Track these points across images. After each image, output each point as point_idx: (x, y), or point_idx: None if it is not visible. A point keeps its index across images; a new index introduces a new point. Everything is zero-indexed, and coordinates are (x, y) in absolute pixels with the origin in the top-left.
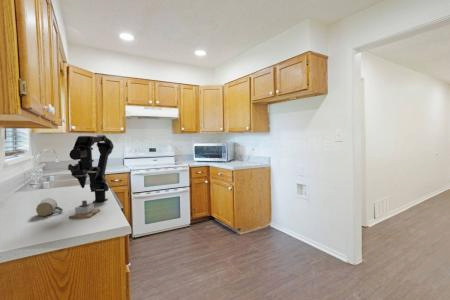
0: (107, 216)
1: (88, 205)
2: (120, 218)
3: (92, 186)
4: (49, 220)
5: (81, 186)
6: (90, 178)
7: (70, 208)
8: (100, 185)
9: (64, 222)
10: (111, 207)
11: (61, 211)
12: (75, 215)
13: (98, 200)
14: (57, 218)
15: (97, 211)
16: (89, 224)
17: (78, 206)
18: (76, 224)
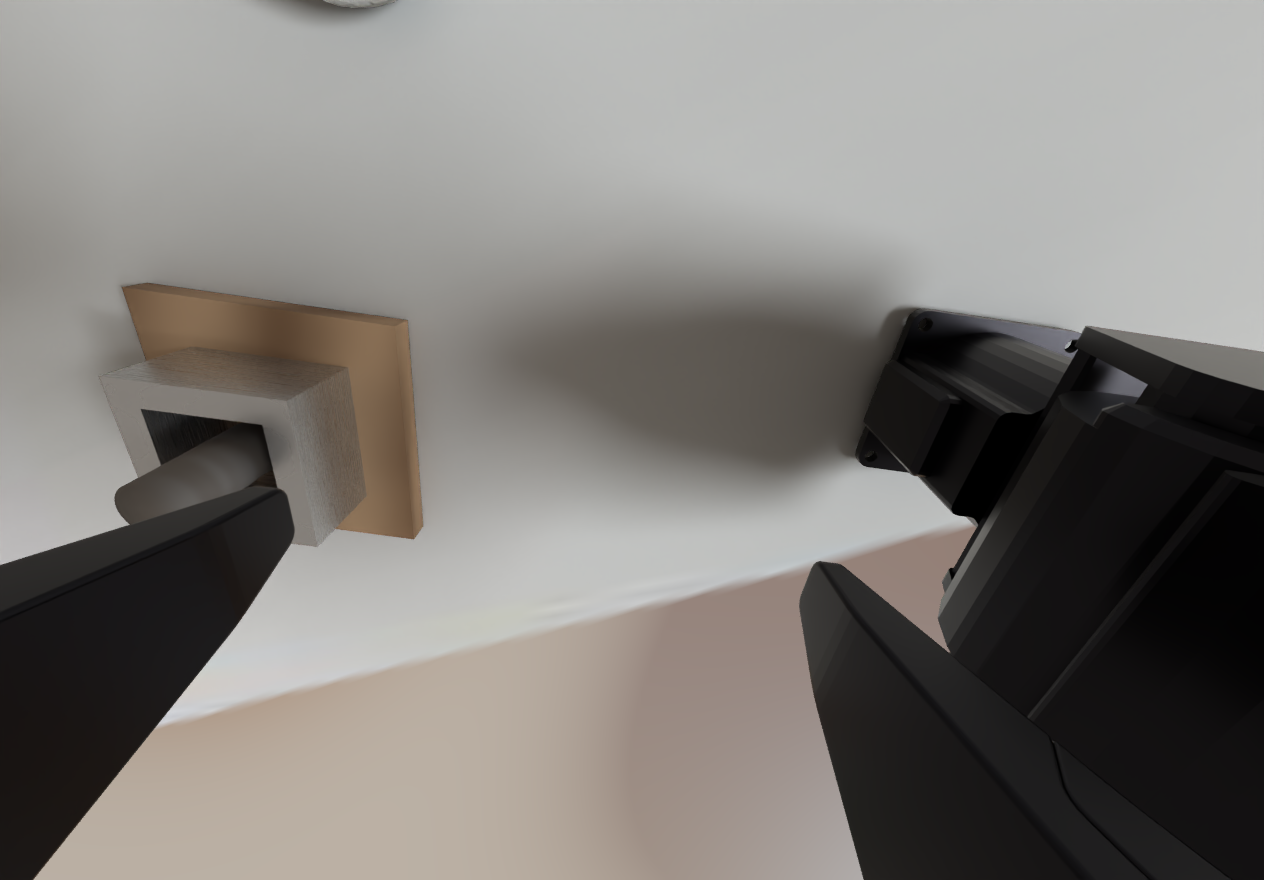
0: (264, 617)
1: (289, 489)
2: (227, 698)
3: (1056, 465)
4: (7, 17)
5: (200, 516)
6: (957, 796)
7: (635, 42)
8: (960, 652)
9: (14, 297)
10: (554, 591)
11: (347, 4)
12: None
13: (873, 412)
14: (113, 107)
15: (359, 527)
16: (47, 546)
17: (170, 399)
18: (9, 446)
